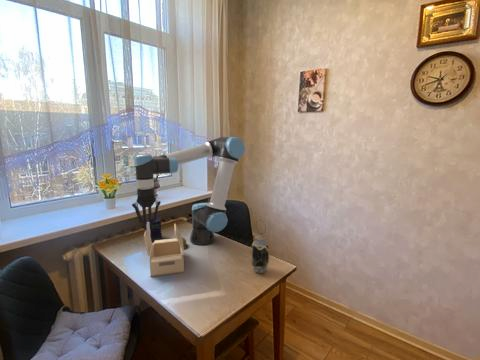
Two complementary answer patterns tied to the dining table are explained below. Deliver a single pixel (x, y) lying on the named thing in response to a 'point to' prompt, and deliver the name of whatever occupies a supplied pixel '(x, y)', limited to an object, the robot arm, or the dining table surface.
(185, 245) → the seashell
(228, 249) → the dining table surface
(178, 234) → the flap
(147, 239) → the flap
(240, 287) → the dining table surface
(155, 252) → the carton
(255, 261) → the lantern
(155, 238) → the dark blue barrel
